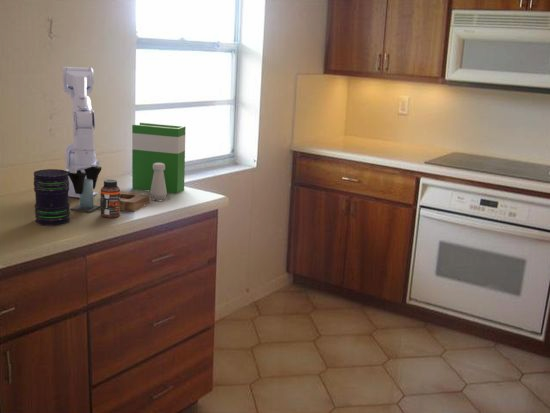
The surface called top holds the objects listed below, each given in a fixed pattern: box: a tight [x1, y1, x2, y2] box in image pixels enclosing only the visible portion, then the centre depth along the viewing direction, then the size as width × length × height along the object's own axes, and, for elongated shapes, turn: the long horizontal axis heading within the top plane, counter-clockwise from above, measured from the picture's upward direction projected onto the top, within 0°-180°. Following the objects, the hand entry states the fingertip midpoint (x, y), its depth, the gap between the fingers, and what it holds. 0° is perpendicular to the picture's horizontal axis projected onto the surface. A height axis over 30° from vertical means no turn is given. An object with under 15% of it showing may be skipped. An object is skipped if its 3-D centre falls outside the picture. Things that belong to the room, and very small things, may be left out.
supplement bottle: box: [100, 179, 121, 219], centre depth 193 cm, size 6×6×11 cm
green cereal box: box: [131, 122, 186, 195], centre depth 228 cm, size 18×7×24 cm, turn 78°
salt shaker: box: [149, 163, 168, 202], centre depth 215 cm, size 6×6×13 cm
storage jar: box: [33, 168, 71, 227], centre depth 183 cm, size 10×10×15 cm
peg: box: [79, 179, 94, 209], centre depth 198 cm, size 4×4×9 cm
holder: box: [99, 190, 151, 213], centre depth 207 cm, size 12×12×3 cm
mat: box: [70, 204, 101, 214], centre depth 200 cm, size 7×7×1 cm
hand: (85, 191), depth 198 cm, fingers open, 7 cm apart
